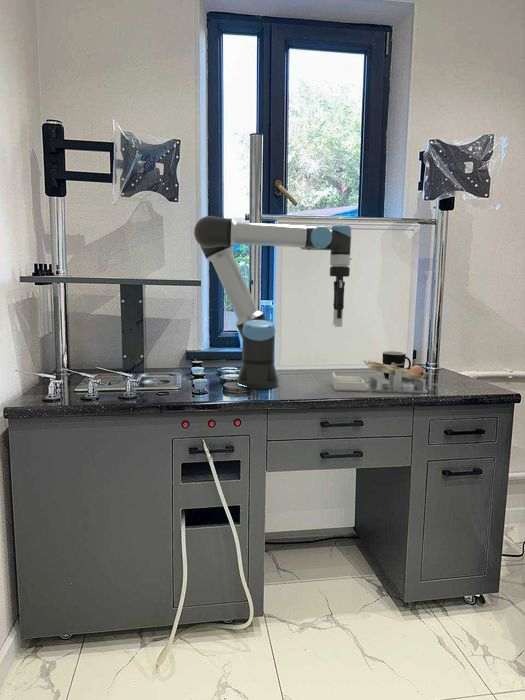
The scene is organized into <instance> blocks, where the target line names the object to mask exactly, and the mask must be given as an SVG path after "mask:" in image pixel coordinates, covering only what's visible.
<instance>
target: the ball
mask: <svg viewBox="0 0 525 700" xmlns="http://www.w3.org/2000/svg"><path fill="white" fill-rule="evenodd" d="M410 370H411V373H414V374H419V375H421V374H422V372H423V371H424V370H423V368H422V366H421V365H418V364H417V365H416V364H415V365H413V366H411V369H410Z"/></svg>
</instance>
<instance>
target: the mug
mask: <svg viewBox="0 0 525 700" xmlns="http://www.w3.org/2000/svg"><path fill="white" fill-rule="evenodd" d="M406 354H407V353H406V352H404V351H402V352H401V351H396V350H395V351H393V350H392V351H391V350H388V351H387V350H386V351H383V352H382V364H386V365H397V367H399V368H403V369H405V364H406V360H407V361H408V366H407V368H406V369H407V370H411V369H410V368H412V362H411V359H410V358H409V357H408V356H406ZM382 373H383V376H384V378H386V379H389V373H385V372H382Z"/></svg>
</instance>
